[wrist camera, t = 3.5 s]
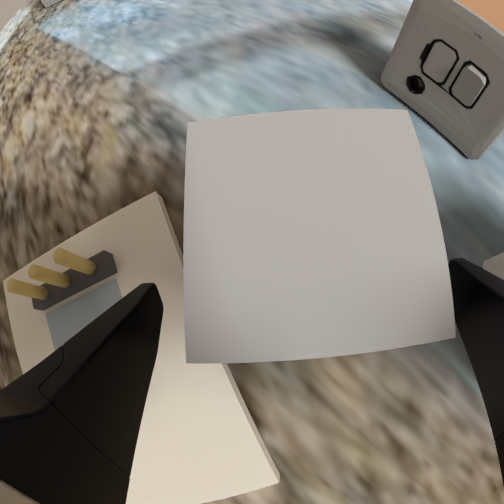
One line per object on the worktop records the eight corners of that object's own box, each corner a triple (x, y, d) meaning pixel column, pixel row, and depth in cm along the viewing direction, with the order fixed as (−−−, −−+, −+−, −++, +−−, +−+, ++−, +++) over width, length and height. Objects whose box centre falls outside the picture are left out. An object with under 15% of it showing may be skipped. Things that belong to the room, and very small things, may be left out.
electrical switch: (375, 84, 20) (408, -16, 12) (406, 64, 21) (438, -22, 12) (472, 167, 18) (543, 84, 9) (492, 136, 19) (550, 62, 10)
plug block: (346, 335, 17) (456, 337, 5) (254, 342, 17) (186, 363, 5) (337, 246, 18) (407, 109, 6) (249, 252, 18) (187, 122, 7)
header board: (279, 474, 15) (275, 519, 10) (93, 509, 15) (53, 537, 10) (162, 198, 20) (126, 158, 15) (13, 283, 20) (-36, 269, 15)
